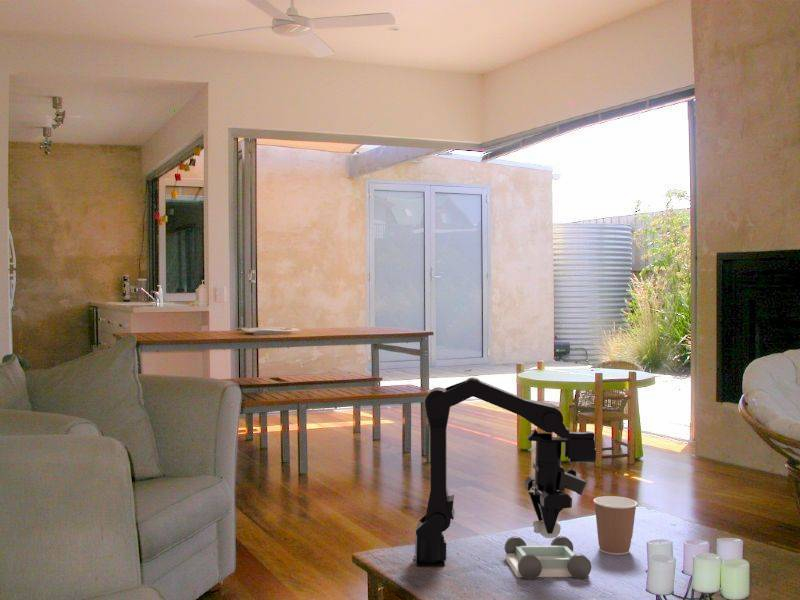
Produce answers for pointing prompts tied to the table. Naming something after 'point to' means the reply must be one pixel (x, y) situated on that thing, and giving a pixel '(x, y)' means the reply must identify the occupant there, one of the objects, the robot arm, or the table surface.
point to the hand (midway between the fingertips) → (546, 529)
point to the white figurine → (540, 528)
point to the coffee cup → (615, 523)
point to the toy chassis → (546, 559)
